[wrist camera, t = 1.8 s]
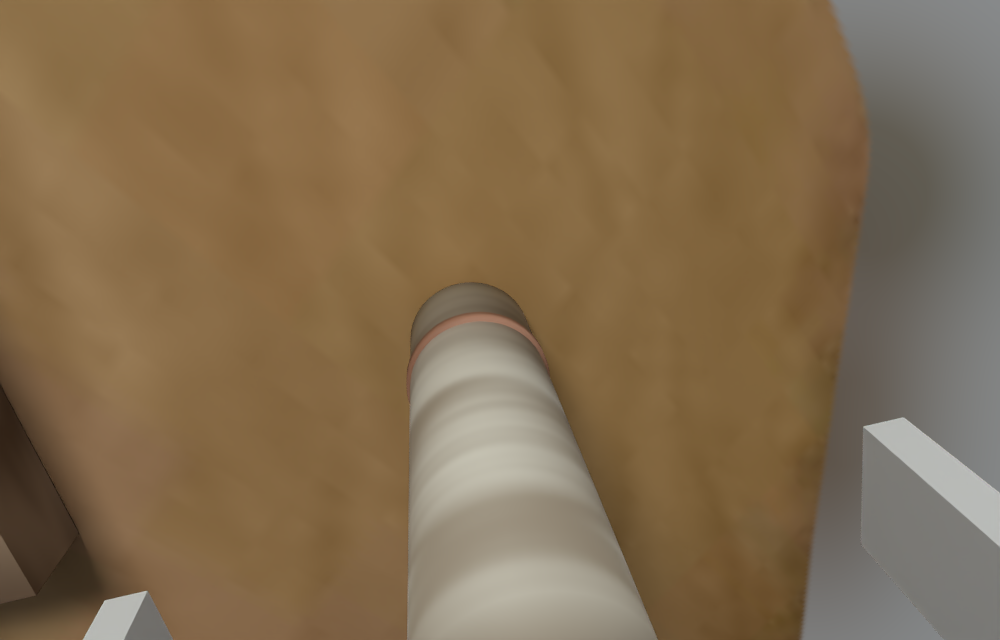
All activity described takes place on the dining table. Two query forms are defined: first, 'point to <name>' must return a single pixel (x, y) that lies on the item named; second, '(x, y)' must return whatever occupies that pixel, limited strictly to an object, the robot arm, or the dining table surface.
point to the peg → (502, 489)
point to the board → (27, 514)
